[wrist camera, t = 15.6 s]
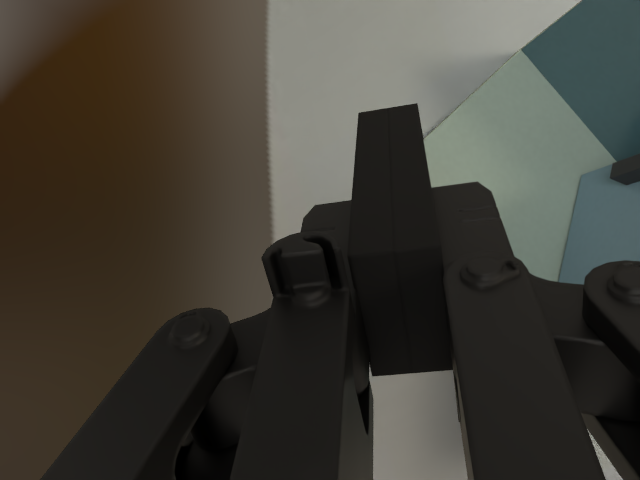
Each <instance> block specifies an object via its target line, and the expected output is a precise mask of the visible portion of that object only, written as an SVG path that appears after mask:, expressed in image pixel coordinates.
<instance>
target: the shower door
mask: <svg viewBox="0 0 640 480" xmlns="http://www.w3.org/2000/svg"><path fill="white" fill-rule="evenodd" d="M623 260H629V261H640V153H639V154H637V155H634V156H631V157H628V158H626V159H623V160H620V161H617V162H615V163H613V164H611V165H608V166H605V167H602V168H600V169H597V170H594V171H591V172H588V173H586V174H583V175H582V176H581V180H580V185H579V189H578V194H577V198H576V203H575V208H574V212H573V217H572V221H571V226H570V230H569V235H568V239H567V244H566V249H565V253H564V258H563V262H562V267H561V271H560V276H559V281H558V282H562V283H572V284H583V285H584V280H585V276H586V275H587V274H588V273H589V272H590V271H591V270H592V269H593V268H595V267H598V266H600V265H603V264H605V263H608V262H615V261H623Z"/></svg>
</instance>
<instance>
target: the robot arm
mask: <svg viewBox="0 0 640 480" xmlns="http://www.w3.org/2000/svg"><path fill="white" fill-rule="evenodd" d="M262 261H263V265H264V268H265V271H266V275H267V278H268V281H269V284H270V288H271V291H272V294H273V301H272V305H271V308H269V309H268V310H266V311H264V312H262V313H260V314H258V315H255V316H252V317H250V318H246V319H244V320H240V321H237V322H234V323H231V324H230V322H229V319H228V317H227V316H226V315H225V314H224V313H223V312H221V311H220V310H217V309H212V308H200V309H193V310H190V311H186V312H184V313H181V314H179V315H177V316H176V317H174V318H172V319H171V320H169V321H167V322H166V323H165V324H164V325H163V326H162V327H161V328H160V329H159V330H158V331H157V332H156V333H155V335H154V336H153V337H152V338H151V340H150V341H149V342H148V343H147V345H146V346H145V347H144V349H143V350H142V351H141V352H140V353H139V355H138V356H137V357H136V359H135V360H134V361H133V362H132V364H131V365H130V366H129V368H128V369H127V370H126V371H125V373H124V374H123V375H122V376H121V378H120V379H119V380H118V382H117V383H116V384H115V385H114V387H113V388H112V389H111V390H110V392H109V393H108V394H107V395H106V397H105V398H104V399H103V401H102V402H101V403H100V404H99V406H98V407H97V408H96V410H95V411H94V412H93V413H92V414H91V416H90V417H89V418H88V420H87V421H86V422H85V423H84V425H83V426H82V427H81V428H80V430H79V431H78V432H77V433H76V435H75V436H74V437H73V439H72V440H71V441H70V443H69V444H68V445H67V446H66V448H65V449H64V450H63V451H62V453H61V454H60V455H59V456H58V458H57V459H56V460H55V462H54V463H53V464H52V465H51V467H50V468H49V469H48V470H47V472H46V473H45V474H44V475H43V477H42V478H41V479H40V480H373V395H372V390H371V385H370V381H369V362H370V367H371V372H372V376H383V375H395V374H408V373H420V372H432V371H445V370H453V374H454V383H455V392H456V401H457V410H458V419H459V422H460V427H461V433H462V440H463V447H464V454H465V461H466V468H467V475H468V480H606V479H605V476H604V474H603V471H602V468H601V466H600V463H599V460H598V458H597V455H596V452H595V449H594V447H593V444H592V441H591V439H590V436H589V433H588V430H589V432H590V433H591V435H592V436H593V437H594V439H595V440H596V442H597V443H598V445H599V446H600V447H601V449H602V450H603V452H604V453H605V454H606V456H607V457H608V459H609V460H610V462H611V463H612V464H613V466H614V467H615V469H616V470H617V472H618V473H619V474H620V476H621V477H622V479H623V480H640V261H629V260H623V261H615V262H608V263H605V264H603V265H600V266H598V267H595V268H593V269H592V270H591V271H590V272H589V273H588V274H587V275H586V276H585V280H584V285H583V284H572V283H562V282H556V281H550V280H546V279H543V278H539V277H536V276H534V275H532V274H531V273H529V271H528V269H527V267H526V266H525V265H524V263H523V262H522V261H521V260H520V259H518V258H516V257H514V254H513V251H512V248H511V245H510V242H509V240H508V237H507V234H506V231H505V228H504V225H503V223H502V220H501V218H500V214H499V211H498V208H497V207H496V203H495V200H494V197H493V194H492V191H490V190H489V189H487V188H486V187H485V186H483V185H482V184H480V183H479V182H478V181H476V182H469V183H462V184H454V185H447V186H440V187H432V188H431V182H430V176H429V170H428V164H427V158H426V152H425V146H424V141H423V135H422V129H421V123H420V117H419V111H418V105H417V103H416V104H410V105H404V106H398V107H392V108H386V109H379V110H373V111H367V112H361V113H359V115H358V127H357V139H356V152H355V164H354V177H353V189H352V200H350V201H342V202H335V203H328V204H320V205H315V206H314V207H313V208H312V209H311V210H310V212H309V213H308V214H307V215H306V216H305V217H304V218H303V223H302V228H301V233H296V234H292V235H289V236H287V237H285V238H282V239H280V240H278V241H276V242H275V243H274V244H273V245H271V246H270V247H269V248H267V249H266V251H265V253H264V254H263V256H262ZM586 427H587V428H586ZM587 429H588V430H587Z"/></svg>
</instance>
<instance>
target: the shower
mask: <svg viewBox="0 0 640 480" xmlns="http://www.w3.org/2000/svg"><path fill="white" fill-rule="evenodd" d="M423 141H424V146H425V152H426V158H427V164H428V170H429V176H430V182H431V188H432V187H440V186H447V185H454V184H462V183H469V182H476V181H478V182H479V183H480V184H482V185H483V186H485V187H486V188H487V189H489V190H490V191H492V194H493V197H494V200H495V203H496V207H497V208H498V211H499V214H500V218H501V220H502V223H503V225H504V228H505V231H506V234H507V237H508V240H509V242H510V245H511V248H512V251H513V254H514V257H516V258H518V259H520V260H521V261H522V262H523V263H524V265H525V266H526V267H527V269H528V271H529V273H531V274H532V275H534V276H536V277H539V278H543V279H546V280H550V281H556V282H558V281H559V276H560V271H561V267H562V262H563V258H564V253H565V249H566V244H567V239H568V235H569V230H570V226H571V221H572V217H573V212H574V208H575V203H576V198H577V194H578V189H579V185H580V180H581V176H582V175H583V174H586V173H588V172H591V171H594V170H597V169H600V168H602V167H605V166H608V165H611V164H613V163H615V162H617V161H620V160H623V159H626V158H628V157H631V156H634V155H637V154H639V153H640V0H581V1H580V2H579V3H577V4H576V5H575V6H574V7H572V8H571V9H570V10H569V11H567V12H566V13H565V14H564V15H562V16H561V17H560V18H559V19H557V20H556V21H555V22H554V23H552V24H551V25H550V26H548V27H547V28H546V29H545V30H543V31H542V32H541V33H540V34H538V35H537V36H536V37H535V38H533V39H532V40H531V41H530V42H528V43H527V44H526V45H525V46H523V47H522V48H521V49H520V50H518V51H517V52H516V53H515V54H514V55H513V56H512V57H511V58H510V59H509V60H508V61H507V62H505V63H504V64H503V65H502V66H501V67H500V68H499V69H498V70H497V71H496V72H495V73H494V74H493V75H491V76H490V77H489V78H488V79H487V80H486V81H485V82H484V83H483V84H482V85H481V86H480V87H479V88H477V89H476V90H475V91H474V92H473V93H472V94H471V95H470V96H469V97H468V98H467V99H466V100H465V101H464V102H462V103H461V104H460V105H459V106H458V107H457V108H456V109H455V110H454V111H453V112H452V113H451V114H450V115H448V116H447V117H446V118H445V119H444V120H443V121H442V122H441V123H440V124H439V125H438V126H437V127H436V128H434V129H433V130H432V131H431V132H430V133H429V134H428V135H427V136H426V137H425V138H424V139H423Z"/></svg>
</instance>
